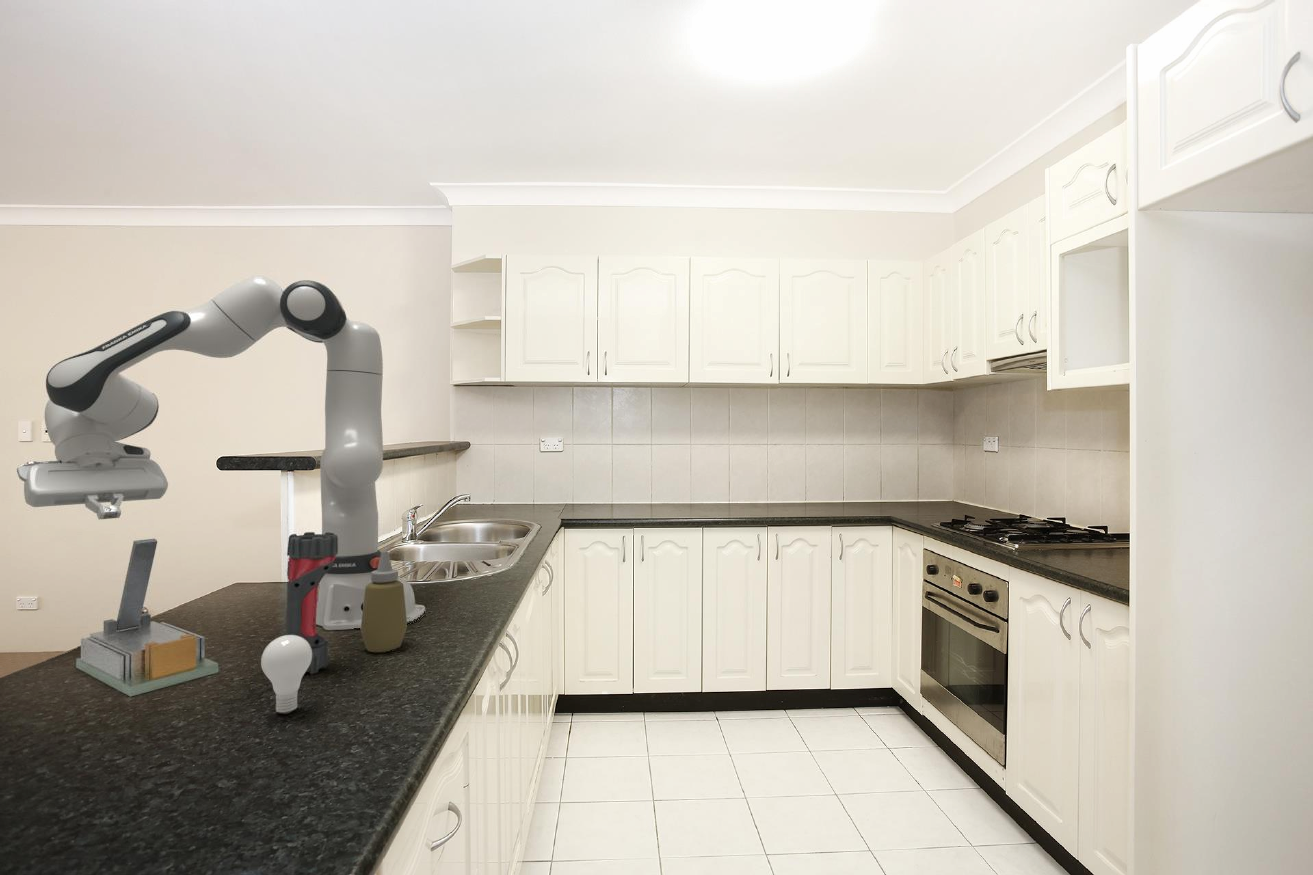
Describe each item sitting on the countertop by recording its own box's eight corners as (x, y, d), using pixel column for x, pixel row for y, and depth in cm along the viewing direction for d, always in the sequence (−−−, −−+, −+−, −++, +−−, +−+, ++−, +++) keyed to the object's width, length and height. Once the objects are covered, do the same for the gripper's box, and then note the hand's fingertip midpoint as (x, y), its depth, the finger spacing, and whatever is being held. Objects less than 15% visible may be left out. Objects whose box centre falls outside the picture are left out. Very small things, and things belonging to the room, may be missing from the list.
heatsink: (76, 667, 109) (76, 623, 109) (160, 648, 119) (160, 607, 119) (130, 696, 97) (130, 646, 97) (218, 672, 108) (218, 627, 108)
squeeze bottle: (361, 658, 115) (362, 557, 115) (359, 644, 122) (359, 549, 122) (409, 651, 119) (410, 553, 119) (404, 639, 126) (405, 546, 126)
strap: (117, 631, 111) (115, 628, 112) (138, 627, 114) (136, 624, 114) (135, 543, 107) (133, 540, 108) (157, 541, 110) (155, 538, 110)
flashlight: (346, 664, 112) (347, 532, 112) (310, 680, 104) (311, 538, 104) (311, 659, 114) (312, 529, 114) (272, 674, 107) (274, 536, 107)
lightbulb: (288, 724, 89) (289, 644, 89) (249, 719, 90) (250, 641, 90) (321, 705, 95) (322, 630, 95) (284, 701, 96) (284, 627, 96)
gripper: (18, 450, 112) (37, 510, 107) (158, 448, 129) (180, 500, 124) (10, 474, 114) (28, 535, 109) (148, 470, 132) (169, 521, 127)
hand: (110, 516), depth 117 cm, fingers closed
